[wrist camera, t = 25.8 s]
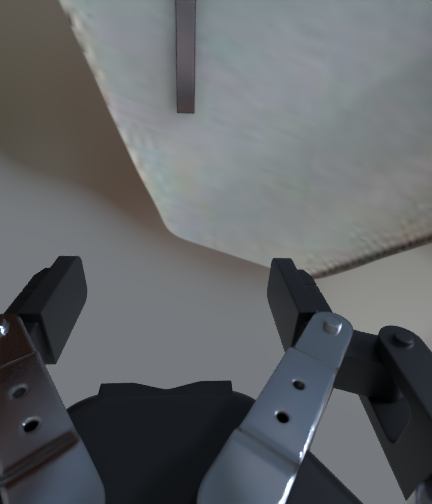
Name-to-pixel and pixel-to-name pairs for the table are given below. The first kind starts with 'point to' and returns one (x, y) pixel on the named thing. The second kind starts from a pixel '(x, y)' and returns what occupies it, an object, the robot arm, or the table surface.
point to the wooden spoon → (185, 55)
